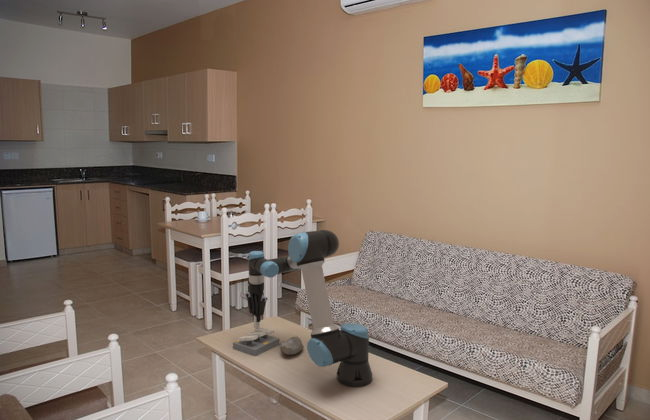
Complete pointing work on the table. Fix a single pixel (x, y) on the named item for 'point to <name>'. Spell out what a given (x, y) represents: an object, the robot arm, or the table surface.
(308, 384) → the table surface
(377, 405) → the table surface
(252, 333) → the rocker
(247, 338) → the plate
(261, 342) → the switch unit
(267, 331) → the rocker
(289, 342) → the seashell
